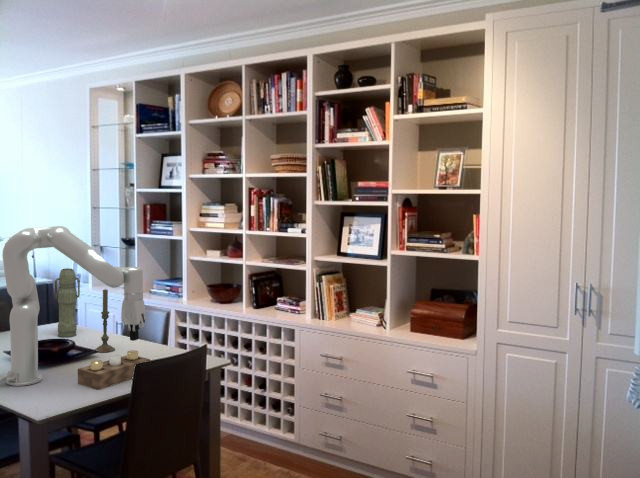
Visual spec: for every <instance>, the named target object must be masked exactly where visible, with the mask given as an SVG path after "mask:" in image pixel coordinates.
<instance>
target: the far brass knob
mask: <svg viewBox="0 0 640 478" xmlns="http://www.w3.org/2000/svg"><path fill="white" fill-rule="evenodd" d="M126 355H127V360H129V361H135V360H138V356H139V351H138V350H133V349H132V350H128V351H127V352H126Z"/></svg>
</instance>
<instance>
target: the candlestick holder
mask: <svg viewBox="0 0 640 478" xmlns="http://www.w3.org/2000/svg"><path fill="white" fill-rule="evenodd" d="M108 292H109V290H108V289H107V288H104V289H103V290H102V311H101V312H100V314H101V319H102V320H103V321H102V322H103V323H102V327H103V329H102V330H103V334H102V336H100V339H101V342H102V344H101V345H98V347H96V348H95V349H94V351H95V350H98V351H99V354H105V353H106V354H107V353H112V352H114V351H115V350H116V349H115V347H113V346H112V345H109V344H108V341H109V338H110V337H109V335H108V334H107V332H108V330H107V329H108V327H107V326H108V319H109V317H110V315H109V314H110V311H108V307H109V306H108V305H109V304H108V303H109V300H108V298H109V296H108V295H109V293H108Z"/></svg>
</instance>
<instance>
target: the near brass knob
mask: <svg viewBox="0 0 640 478" xmlns="http://www.w3.org/2000/svg"><path fill="white" fill-rule="evenodd" d="M103 362H104V360H101V359H94V360H91V361H90V365H91V371H94V372H97V371H100V370H103Z"/></svg>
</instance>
